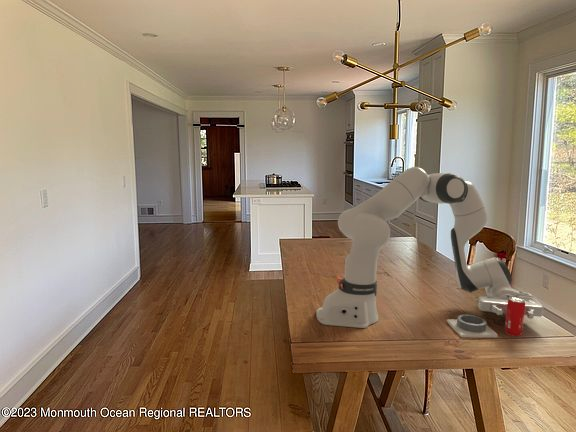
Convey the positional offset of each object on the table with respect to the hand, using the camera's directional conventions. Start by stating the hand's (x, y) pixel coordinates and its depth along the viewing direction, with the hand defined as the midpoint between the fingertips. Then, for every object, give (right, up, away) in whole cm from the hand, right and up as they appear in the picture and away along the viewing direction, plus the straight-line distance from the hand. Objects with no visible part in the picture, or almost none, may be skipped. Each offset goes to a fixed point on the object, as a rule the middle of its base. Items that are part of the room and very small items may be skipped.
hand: (515, 314), depth 140 cm
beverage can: (0, -7, +2) cm, 7 cm away
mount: (-13, -6, +4) cm, 15 cm away
